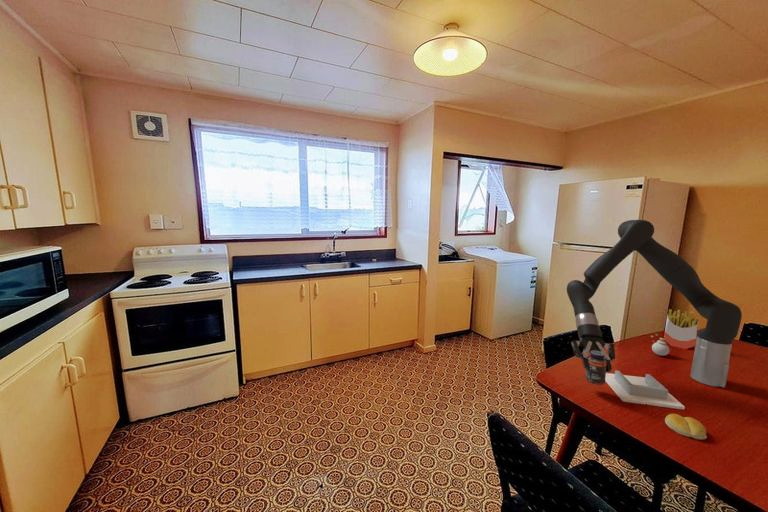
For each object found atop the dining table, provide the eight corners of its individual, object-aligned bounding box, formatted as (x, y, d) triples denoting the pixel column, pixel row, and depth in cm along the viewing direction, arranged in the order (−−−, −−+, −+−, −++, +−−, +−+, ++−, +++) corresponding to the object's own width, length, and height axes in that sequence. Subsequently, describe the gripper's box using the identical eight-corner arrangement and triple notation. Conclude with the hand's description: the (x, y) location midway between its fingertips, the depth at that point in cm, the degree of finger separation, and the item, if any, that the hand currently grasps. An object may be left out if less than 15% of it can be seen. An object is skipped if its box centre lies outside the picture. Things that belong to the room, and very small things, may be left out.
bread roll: (661, 417, 98) (663, 406, 97) (700, 427, 93) (702, 416, 92) (668, 432, 91) (670, 420, 90) (710, 445, 86) (712, 432, 85)
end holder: (599, 374, 122) (601, 364, 122) (651, 380, 118) (653, 370, 117) (622, 401, 105) (624, 389, 105) (684, 409, 101) (686, 397, 100)
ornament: (667, 359, 135) (670, 338, 134) (646, 353, 141) (648, 333, 139) (669, 355, 139) (672, 335, 138) (648, 349, 145) (651, 330, 143)
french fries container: (694, 351, 143) (700, 315, 141) (663, 344, 151) (668, 310, 148) (693, 347, 147) (699, 312, 144) (663, 341, 154) (668, 308, 151)
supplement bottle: (601, 378, 112) (604, 350, 110) (607, 387, 107) (610, 357, 105) (583, 375, 114) (585, 348, 112) (587, 384, 108) (590, 355, 107)
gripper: (570, 321, 116) (579, 365, 107) (612, 324, 113) (626, 369, 103) (564, 329, 122) (572, 371, 113) (605, 332, 119) (616, 375, 109)
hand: (598, 370), depth 108 cm, fingers closed on supplement bottle, 6 cm apart
